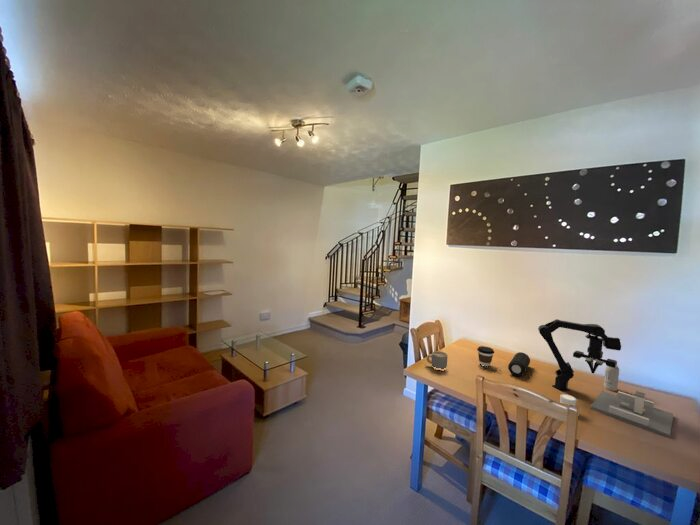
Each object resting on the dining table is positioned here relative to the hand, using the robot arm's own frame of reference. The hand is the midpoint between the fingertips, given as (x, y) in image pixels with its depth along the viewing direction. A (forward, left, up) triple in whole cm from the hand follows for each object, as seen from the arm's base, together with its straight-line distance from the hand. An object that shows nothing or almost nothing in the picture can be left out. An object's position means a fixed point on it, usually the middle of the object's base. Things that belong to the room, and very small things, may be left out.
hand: (592, 373), depth 165 cm
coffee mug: (-68, +53, -13) cm, 87 cm away
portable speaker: (-15, +35, -13) cm, 41 cm away
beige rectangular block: (+2, -21, -11) cm, 24 cm away
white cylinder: (-30, -8, -13) cm, 34 cm away
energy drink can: (+20, +2, -13) cm, 24 cm away
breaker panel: (+1, -18, -13) cm, 22 cm away
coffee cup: (-32, +48, -13) cm, 59 cm away
